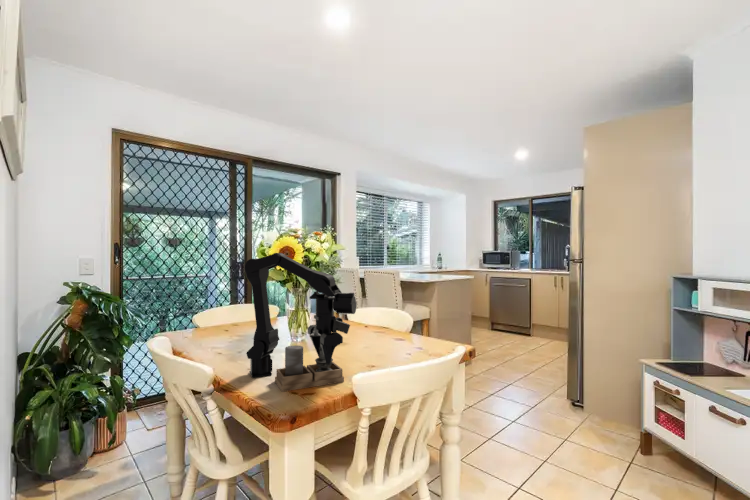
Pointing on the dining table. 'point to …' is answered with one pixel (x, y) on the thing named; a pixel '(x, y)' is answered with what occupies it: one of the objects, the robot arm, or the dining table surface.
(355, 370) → the dining table surface
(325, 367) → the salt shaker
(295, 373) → the condiment rack
